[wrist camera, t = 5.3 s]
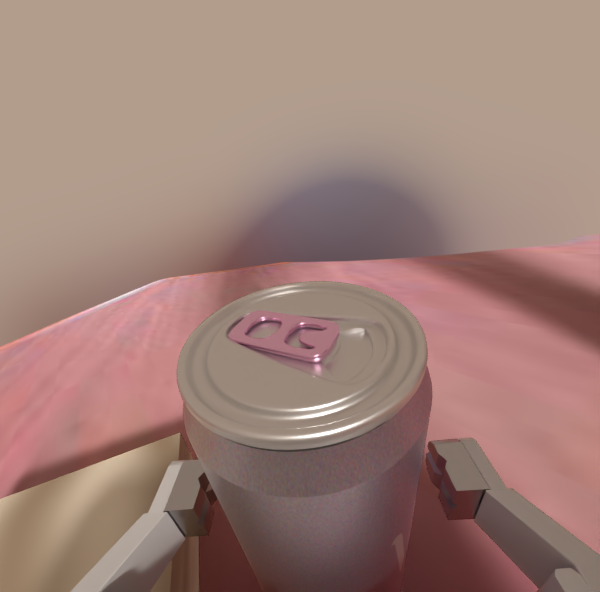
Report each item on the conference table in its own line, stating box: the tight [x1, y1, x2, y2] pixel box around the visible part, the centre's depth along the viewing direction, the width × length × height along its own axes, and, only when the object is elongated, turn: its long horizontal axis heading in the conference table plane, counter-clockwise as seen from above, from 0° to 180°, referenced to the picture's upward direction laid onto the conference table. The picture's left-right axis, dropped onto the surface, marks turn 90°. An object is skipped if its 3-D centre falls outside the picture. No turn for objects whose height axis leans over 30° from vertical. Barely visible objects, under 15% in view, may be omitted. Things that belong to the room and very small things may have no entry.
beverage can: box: [177, 281, 432, 592], centre depth 10 cm, size 6×6×15 cm
